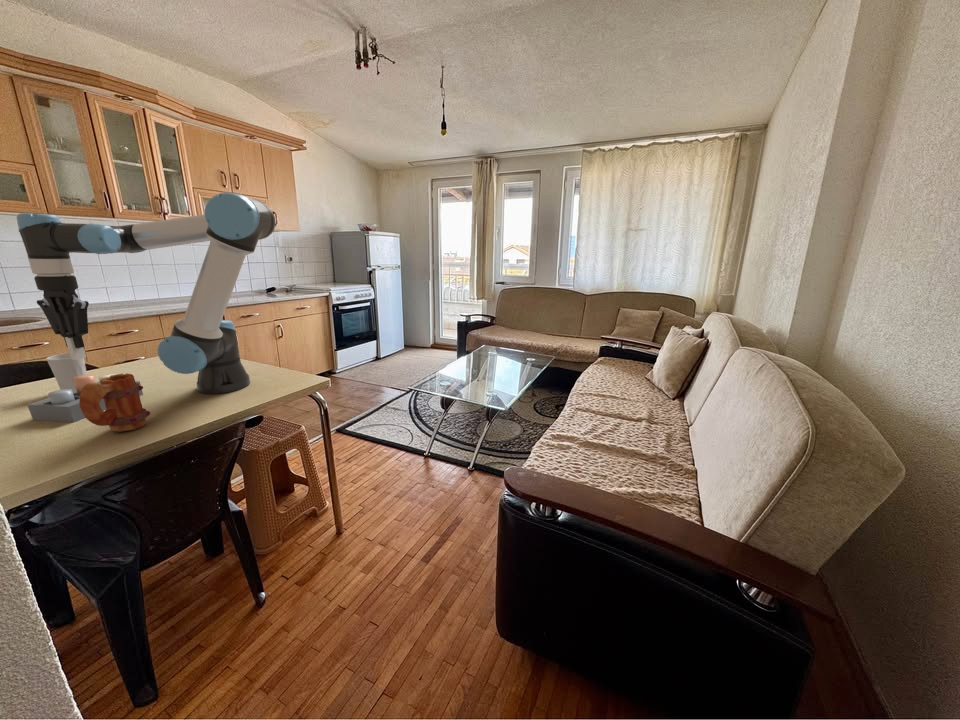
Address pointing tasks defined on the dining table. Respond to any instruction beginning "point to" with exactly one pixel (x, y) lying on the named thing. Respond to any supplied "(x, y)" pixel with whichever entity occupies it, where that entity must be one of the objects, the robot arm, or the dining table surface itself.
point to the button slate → (61, 396)
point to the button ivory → (106, 376)
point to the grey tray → (61, 409)
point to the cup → (66, 369)
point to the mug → (114, 403)
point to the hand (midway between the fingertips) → (79, 358)
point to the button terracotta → (83, 381)
